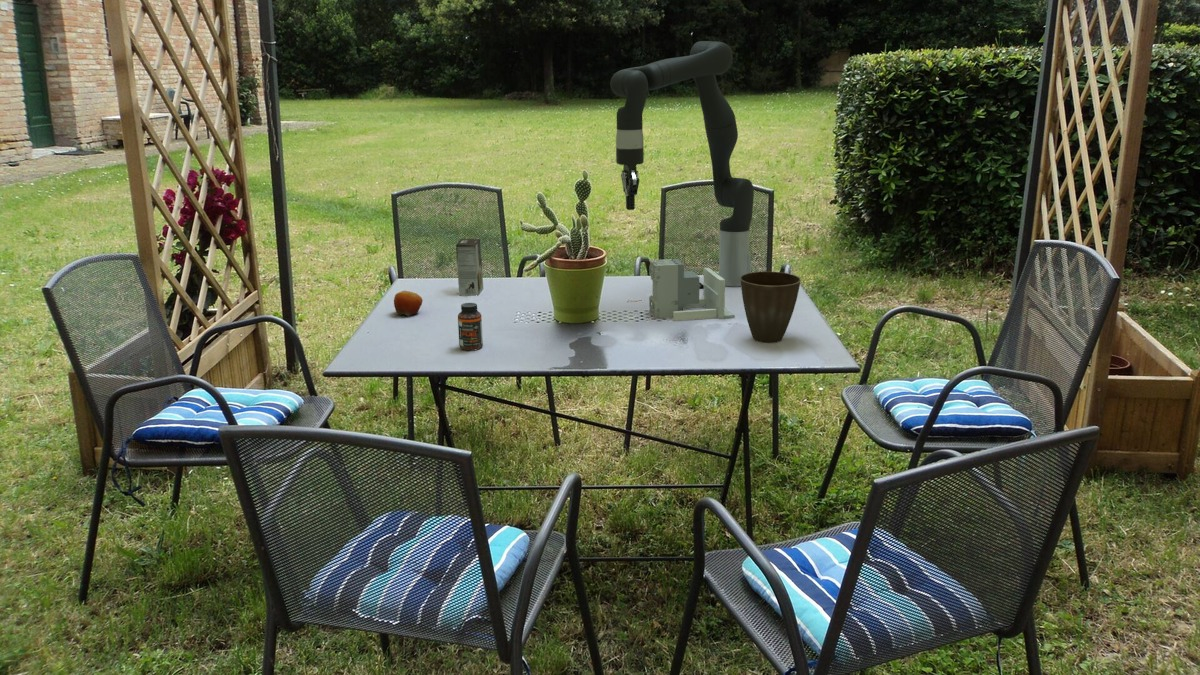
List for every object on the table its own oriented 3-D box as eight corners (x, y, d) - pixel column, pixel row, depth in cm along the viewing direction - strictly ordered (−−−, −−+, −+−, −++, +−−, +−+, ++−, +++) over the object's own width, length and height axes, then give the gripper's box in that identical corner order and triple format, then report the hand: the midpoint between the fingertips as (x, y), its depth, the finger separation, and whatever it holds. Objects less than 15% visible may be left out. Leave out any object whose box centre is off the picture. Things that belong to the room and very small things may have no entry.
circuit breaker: (704, 315, 258) (705, 263, 254) (654, 318, 256) (654, 266, 252) (698, 308, 265) (698, 257, 261) (649, 311, 263) (649, 260, 259)
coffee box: (463, 288, 293) (460, 238, 288) (483, 288, 293) (481, 238, 288) (458, 296, 284) (455, 244, 279) (479, 295, 284) (476, 244, 279)
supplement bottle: (461, 352, 231) (458, 308, 228) (457, 345, 236) (455, 302, 233) (485, 349, 232) (482, 306, 229) (481, 342, 238) (478, 300, 235)
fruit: (385, 313, 261) (390, 286, 263) (398, 321, 268) (403, 294, 270) (411, 315, 259) (416, 288, 260) (423, 323, 266) (428, 296, 268)
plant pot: (806, 335, 239) (810, 275, 234) (783, 351, 227) (786, 288, 222) (753, 327, 247) (755, 268, 242) (728, 341, 235) (730, 280, 230)
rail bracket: (718, 304, 270) (718, 267, 267) (734, 317, 256) (735, 279, 252) (661, 307, 267) (662, 270, 264) (675, 322, 253) (675, 282, 250)
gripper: (648, 148, 246) (649, 212, 252) (637, 143, 259) (638, 205, 264) (621, 149, 245) (622, 214, 250) (611, 144, 258) (612, 206, 263)
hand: (630, 209), depth 257 cm, fingers closed
